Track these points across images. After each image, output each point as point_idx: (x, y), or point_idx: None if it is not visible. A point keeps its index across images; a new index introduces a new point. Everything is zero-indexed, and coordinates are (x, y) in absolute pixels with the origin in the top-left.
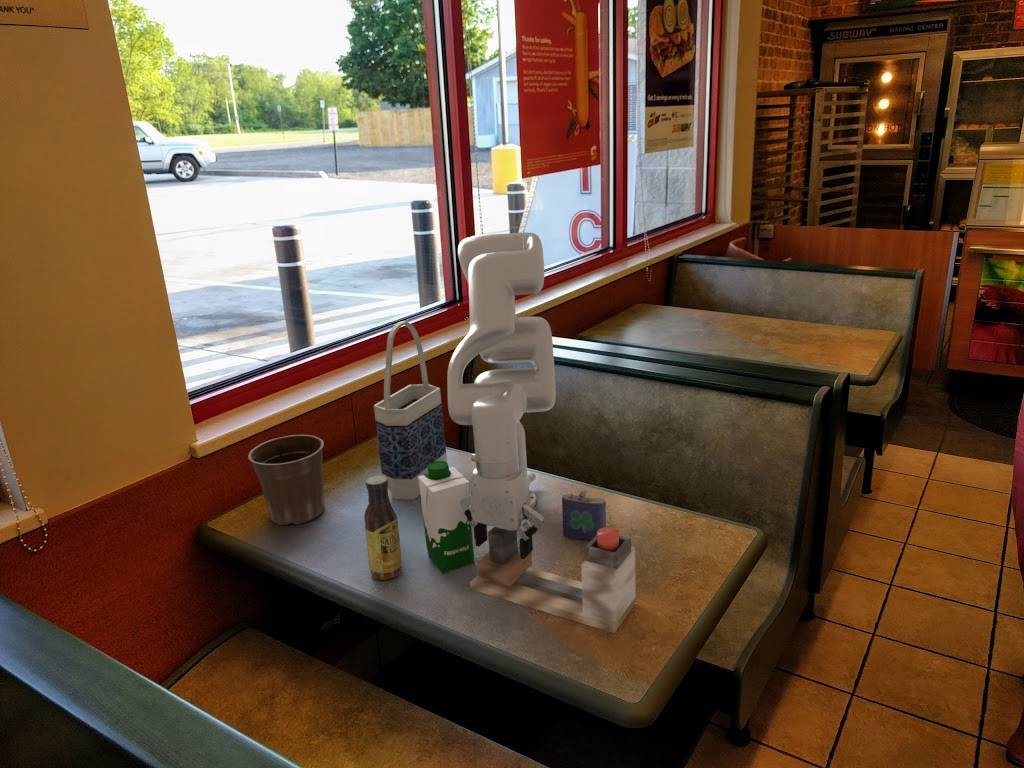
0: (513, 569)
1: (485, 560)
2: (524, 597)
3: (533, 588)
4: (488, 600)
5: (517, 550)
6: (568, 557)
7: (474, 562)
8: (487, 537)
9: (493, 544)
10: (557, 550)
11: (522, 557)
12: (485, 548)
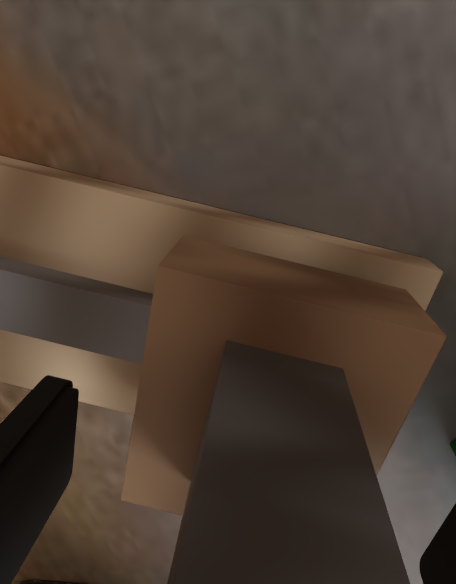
0: (152, 312)
1: (380, 371)
2: (106, 199)
3: (93, 279)
4: (308, 186)
5: (189, 486)
6: (87, 507)
7: (450, 444)
8: (423, 581)
9: (320, 481)
10: (140, 537)
11: (49, 382)
12: (420, 530)
